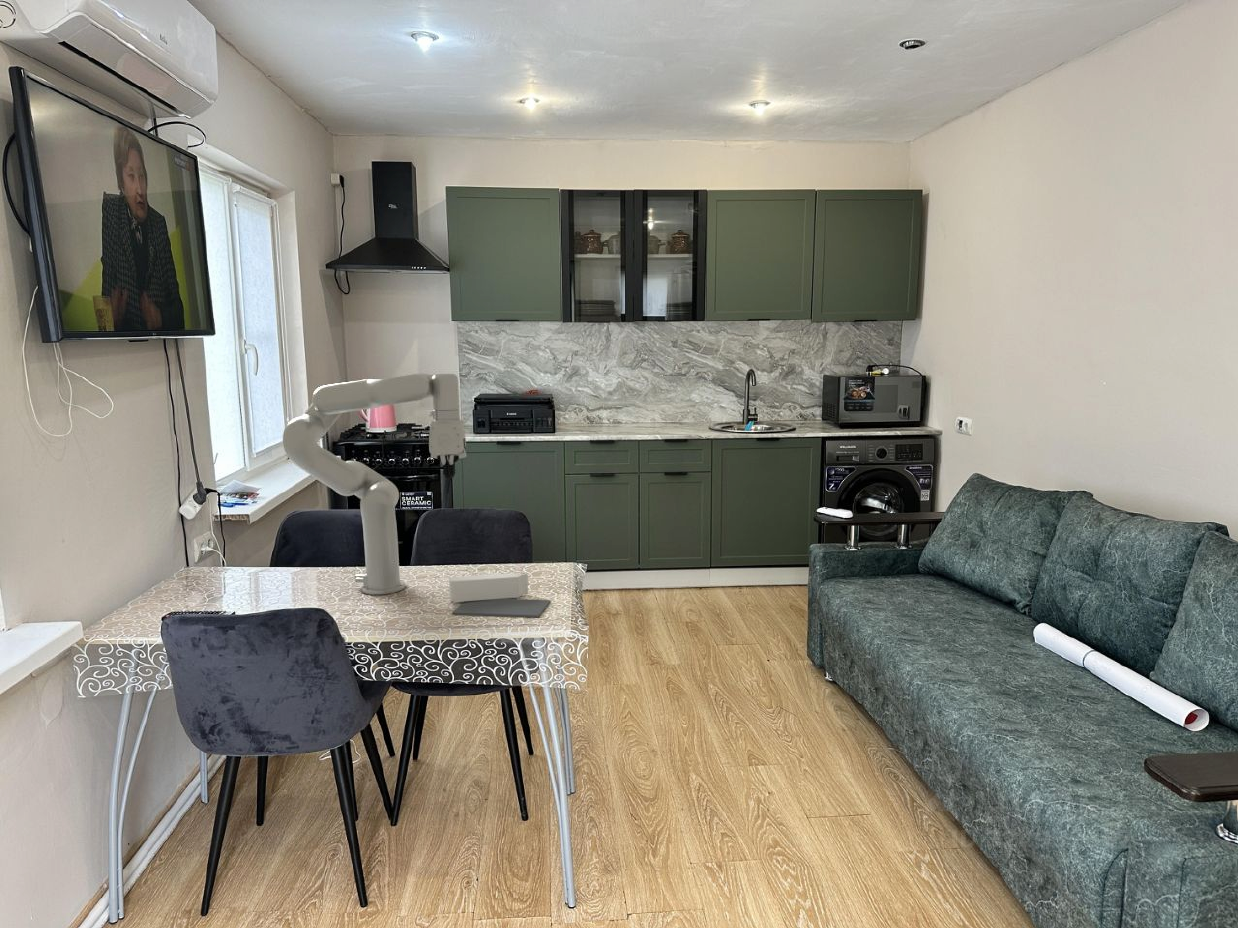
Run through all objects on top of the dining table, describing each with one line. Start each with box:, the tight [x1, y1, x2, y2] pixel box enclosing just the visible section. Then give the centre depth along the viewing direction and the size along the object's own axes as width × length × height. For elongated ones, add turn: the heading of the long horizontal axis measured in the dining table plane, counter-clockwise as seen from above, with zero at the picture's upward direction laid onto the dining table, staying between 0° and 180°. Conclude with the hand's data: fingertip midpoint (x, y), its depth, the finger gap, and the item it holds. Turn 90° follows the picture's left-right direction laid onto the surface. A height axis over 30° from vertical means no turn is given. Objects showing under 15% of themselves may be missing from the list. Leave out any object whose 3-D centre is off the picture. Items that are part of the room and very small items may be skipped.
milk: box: [448, 572, 529, 603], centre depth 223 cm, size 6×6×22 cm
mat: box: [451, 598, 551, 619], centre depth 215 cm, size 24×13×1 cm, turn 82°
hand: (449, 477), depth 233 cm, fingers closed
